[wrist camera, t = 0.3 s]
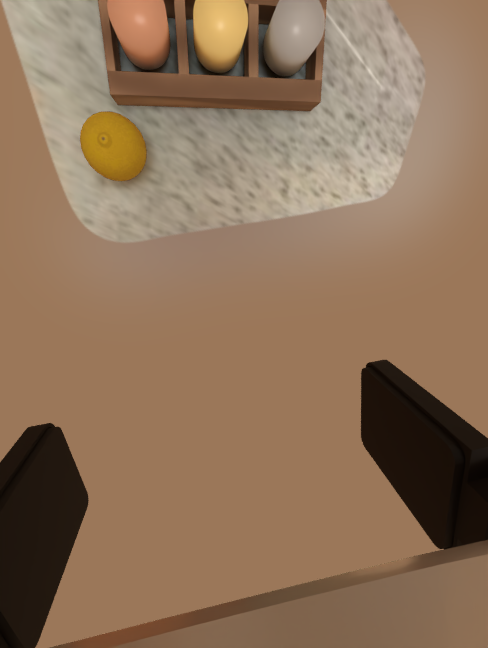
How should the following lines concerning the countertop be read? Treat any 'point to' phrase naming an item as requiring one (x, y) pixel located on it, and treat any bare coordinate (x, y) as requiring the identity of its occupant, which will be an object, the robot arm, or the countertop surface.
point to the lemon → (113, 146)
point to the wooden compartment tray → (212, 87)
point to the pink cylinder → (141, 30)
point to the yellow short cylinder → (219, 32)
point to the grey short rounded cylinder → (293, 35)
